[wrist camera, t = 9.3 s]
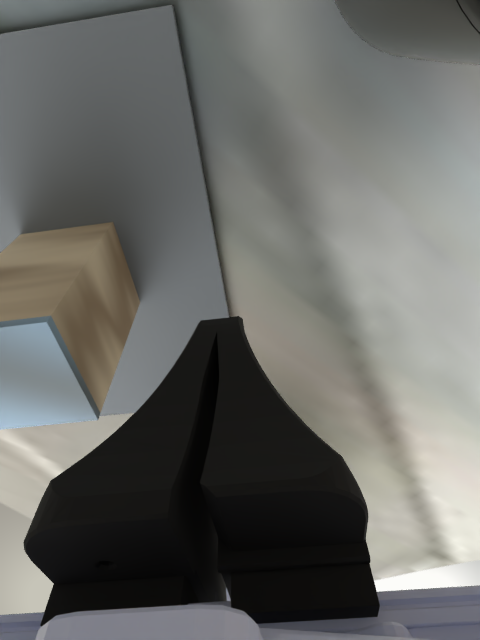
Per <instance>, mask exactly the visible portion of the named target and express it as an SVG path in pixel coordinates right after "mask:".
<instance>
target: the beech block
mask: <svg viewBox="0 0 480 640" xmlns="http://www.w3.org/2000/svg"><path fill="white" fill-rule="evenodd" d="M139 304H140V300H139V297H138V294H137V291H136V288H135V285H134V282H133V280H132V277H131V274H130V271H129V268H128V265H127V262H126V259H125V256H124V253H123V250H122V247H121V244H120V241H119V238H118V235H117V232H116V229H115V226H114V223H113V222H109V223H102V224H94V225H87V226H79V227H72V228H64V229H57V230H49V231H42V232H34V233H27V234H21V235H19V236H18V237H17V238H16V239H15V240H14V241H13V242H12V243H11V244H10V245H9V246H7V247H6V248H5V249H4V250H3V251H2V252H1V253H0V429H10V428H20V427H31V426H41V425H51V424H61V423H72V422H82V421H92V420H98V418H99V416H100V413H101V410H102V407H103V404H104V402H105V399H106V396H107V393H108V391H109V388H110V385H111V382H112V379H113V377H114V374H115V371H116V368H117V366H118V363H119V360H120V357H121V354H122V352H123V349H124V346H125V343H126V340H127V338H128V335H129V332H130V329H131V327H132V324H133V321H134V318H135V315H136V313H137V310H138V307H139Z"/></svg>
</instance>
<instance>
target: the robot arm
mask: <svg viewBox="0 0 480 640" xmlns="http://www.w3.org/2000/svg"><path fill="white" fill-rule="evenodd" d="M367 523H368V509H367V505H366V502H365V499H364V497H363V495H362V492H361V490H360V488H359V486H358V484H357V482H356V480H355V478H354V476H353V474H352V473H351V471H350V469H349V468H348V466H347V464H346V463H345V461H344V459H343V458H342V456H341V455H340V454H338V453H337V452H336V451H335V450H333V449H332V448H331V447H330V446H329V445H328V444H326V443H325V442H324V441H323V440H322V439H321V438H320V437H318V436H317V435H316V434H315V433H314V432H313V431H312V430H311V429H310V428H309V427H308V426H307V425H306V424H305V423H304V422H303V421H302V420H301V419H300V418H299V417H298V415H297V414H296V413H295V412H294V411H293V410H292V409H291V408H290V407H289V406H288V404H287V403H286V402H285V401H284V399H283V398H282V397H281V396H280V394H279V393H278V392H277V390H276V389H275V388H274V386H273V385H272V384H271V382H270V381H269V379H268V378H267V376H266V375H265V373H264V371H263V370H262V368H261V366H260V365H259V363H258V361H257V359H256V357H255V355H254V353H253V351H252V349H251V347H250V345H249V343H248V340H247V337H246V335H245V332H244V326H243V319H242V318H240V317H239V316H237V317H228V318H219V319H210V320H201V321H200V322H199V323H198V325H197V327H196V329H195V331H194V333H193V334H192V336H191V338H190V340H189V341H188V343H187V345H186V347H185V348H184V350H183V351H182V353H181V355H180V356H179V358H178V359H177V361H176V362H175V364H174V365H173V367H172V368H171V370H170V371H169V372H168V374H167V375H166V377H165V378H164V379H163V381H162V382H161V383H160V385H159V386H158V387H157V388H156V390H155V391H154V392H153V393H152V395H151V396H150V397H149V398H148V399H147V400H146V401H145V403H144V404H143V405H142V406H141V407H140V408H139V409H138V410H137V411H136V412H135V413H134V414H133V415H132V416H131V417H130V418H129V419H128V420H127V421H126V422H125V423H124V424H123V425H122V426H121V427H120V428H119V429H118V430H117V431H116V432H114V433H113V434H112V435H111V436H110V437H109V438H107V439H106V440H105V441H104V442H103V443H101V444H100V445H99V446H98V447H96V448H95V449H94V450H93V451H91V452H90V453H89V454H88V455H86V456H85V457H84V458H82V459H81V460H79V461H78V462H77V463H75V464H74V465H72V466H71V467H70V468H68V469H67V470H65V471H64V472H63V473H61V474H60V475H58V476H57V477H55V478H54V479H52V480H51V481H50V483H49V485H48V487H47V489H46V491H45V493H44V495H43V497H42V499H41V501H40V504H39V506H38V509H37V511H36V513H35V516H34V518H33V521H32V523H31V525H30V528H29V530H28V533H27V535H26V538H25V540H24V550H25V552H26V554H27V555H28V557H29V558H30V559H31V561H32V562H33V563H34V564H35V565H36V566H37V567H38V568H39V569H40V570H41V571H42V572H43V573H44V574H45V575H46V576H47V577H48V578H49V579H50V580H51V581H52V582H53V583H54V585H53V588H52V591H51V594H50V597H49V600H48V603H47V606H46V610H45V612H42V613H25V614H9V615H0V640H480V586H465V587H448V588H433V589H432V588H431V589H415V590H399V591H384V592H376V588H375V584H374V580H373V576H372V572H371V568H370V564H369V563H370V555H369V551H368V547H367V543H366V531H367Z"/></svg>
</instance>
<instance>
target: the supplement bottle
mask: <svg viewBox="0 0 480 640" xmlns="http://www.w3.org/2000/svg"><path fill="white" fill-rule="evenodd" d="M335 3H336V5H337V7H338V9H339V11H340V13H341V14H342V16H343V18H344V19H345V20H346V22H347V23H348V25H349V26H350V27H351V28H352V30H353V31H354V32H355V33H356V34H357V35H358V36H359V37H360V38H361V39H362V40H364V41H365V42H367V43H368V44H369V45H371V46H373V47H374V48H376V49H378V50H380V51H383V52H385V53H388V54H390V55H394V56H398V57H404V58H410V59H418V60H428V61H439V62H450V63H460V64H471V65H480V0H335Z"/></svg>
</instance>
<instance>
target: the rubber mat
mask: <svg viewBox="0 0 480 640" xmlns="http://www.w3.org/2000/svg"><path fill="white" fill-rule="evenodd" d="M109 222H113V223H114V226H115V229H116V232H117V235H118V238H119V241H120V244H121V247H122V250H123V253H124V256H125V259H126V262H127V265H128V268H129V271H130V274H131V277H132V280H133V282H134V285H135V288H136V291H137V294H138V297H139V300H140V304H139V307H138V310H137V313H136V315H135V318H134V321H133V324H132V327H131V329H130V332H129V335H128V338H127V340H126V343H125V346H124V349H123V352H122V354H121V357H120V360H119V363H118V366H117V368H116V371H115V374H114V377H113V379H112V382H111V385H110V388H109V391H108V393H107V396H106V399H105V402H104V404H103V407H102V410H101V413H100V416H106V415H116V414H126V413H135V412H136V411H137V410H138V409H139V408H140V407H141V406H142V405H143V404H144V403H145V401H146V400H147V399H148V398H149V397H150V396H151V395H152V393H153V392H154V391H155V390H156V388H157V387H158V386H159V385H160V383H161V382H162V381H163V379H164V378H165V377H166V375H167V374H168V372H169V371H170V370H171V368H172V367H173V365H174V364H175V362H176V361H177V359H178V358H179V356H180V355H181V353H182V351H183V350H184V348H185V347H186V345H187V343H188V341H189V340H190V338H191V336H192V334H193V333H194V331H195V329H196V327H197V325H198V323H199V322H200V321H201V320H210V319H219V318H228V317H230V316H229V310H228V305H227V299H226V294H225V288H224V283H223V277H222V272H221V266H220V261H219V255H218V249H217V244H216V238H215V233H214V227H213V222H212V216H211V211H210V205H209V200H208V194H207V189H206V183H205V178H204V172H203V167H202V161H201V155H200V150H199V144H198V139H197V133H196V128H195V122H194V117H193V111H192V106H191V100H190V95H189V89H188V84H187V78H186V73H185V67H184V61H183V56H182V50H181V45H180V39H179V34H178V28H177V23H176V17H175V12H174V6H173V5H167V6H161V7H155V8H149V9H143V10H137V11H132V12H126V13H120V14H114V15H108V16H102V17H96V18H91V19H85V20H79V21H73V22H67V23H61V24H55V25H50V26H44V27H38V28H32V29H26V30H20V31H14V32H9V33H3V34H0V253H1V252H2V251H3V250H4V249H5V248H6V247H7V246H9V245H10V244H11V243H12V242H13V241H14V240H15V239H16V238H17V237H18V236H19V235H21V234H27V233H34V232H42V231H49V230H57V229H64V228H72V227H79V226H87V225H94V224H102V223H109Z"/></svg>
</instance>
